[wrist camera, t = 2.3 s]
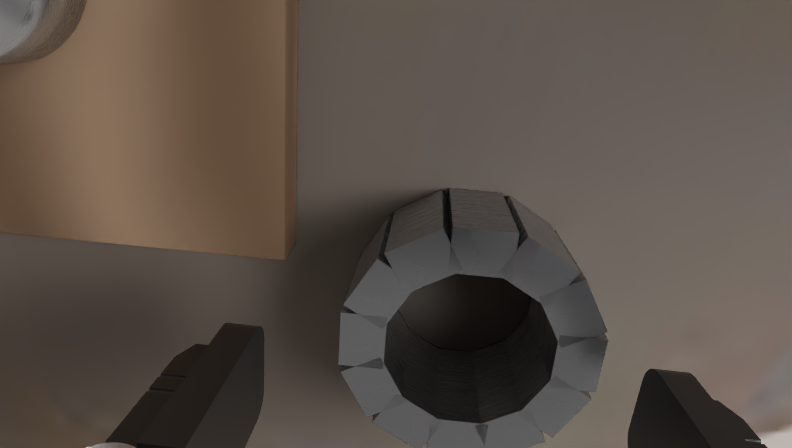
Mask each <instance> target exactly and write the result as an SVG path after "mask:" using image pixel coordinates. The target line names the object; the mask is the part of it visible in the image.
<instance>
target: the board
mask: <svg viewBox="0 0 792 448" xmlns="http://www.w3.org/2000/svg"><path fill="white" fill-rule="evenodd" d="M297 79H298V0H87V2H86V6H85V9H84V12H83V15H82V18H81V20H80V22H79V24H78V26H77V28H76V29H75V31H74V32H73V33H72V35H71V36H70V38H69V39H68V40H67V41H66V42H65V43H64V44H63V45H62V46H61V47H59V48H58V49H56V50H55V51H54V52H52V53H50V54H48V55H46V56H44V57H42V58H40V59H36V60H33V61H29V62H22V63H5V64H0V232H2V233H12V234H22V235H32V236H42V237H53V238H63V239H73V240H83V241H93V242H103V243H113V244H124V245H134V246H144V247H154V248H164V249H174V250H185V251H195V252H205V253H215V254H225V255H235V256H246V257H256V258H266V259H276V260H285V259H286V257H287V256H288V255H289V253H290V252H291V250H292V249H293V248H294V246H295V245H296V177H297Z"/></svg>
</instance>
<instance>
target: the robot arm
mask: <svg viewBox="0 0 792 448" xmlns="http://www.w3.org/2000/svg"><path fill="white" fill-rule="evenodd" d="M263 393H264V332H263V329H262V327H260V326H251V325H242V324H232V323H225V324H224V325H223V326H222V328H221V329H220V330H219V332H218V333H217V334H216V336H215V337H214V338H213V340H212V341H211V343H210V344H209V345H201V344H195V345H194V346H192V347H190V348H189V349H187V350H185V351H184V352H182V353H181V354H179V355H177V356H176V357H174V358H173V360H172V361H171V362H170V363H169V365H168V366H167V367H166V368H165V370H164V371H163V372H162V373H161V377H158V378H157V379H156V381H155V382H154V383H153V384H152V385H151V387H150V389H149V392H148V391H147V392H146V393H145V394H144V395H143V396H142V398H141V399H140V400H139V401H138V403H137V404H136V405H135V406H134V407H133V409H132V410H131V411H130V412H129V414H128V415H127V416H126V417H125V419H124V420H123V421H122V422H121V423H120V425H119V426H118V427H117V428H116V430H115V431H114V432H113V433H112V434H111V436H110V437H109V438H108V439H107V441H106V442H105V443H102V444H96V445H92V446H88V447H86V448H245V446H246V444H247V441H248V439H249V437H250V435H251V433H252V431H253V428H254V426H255V424H256V422H257V419H258V417H259V414H260V410H261V406H262V401H263ZM628 448H767V447H766V446H765V445H764V444H761V440H760V438H759V437H758V436H757V435H756V434H755V433H754V431H753V430H752V429H751V428H750V427H749V425H748V424H747V423H746V422H745V421H744V420H743V419H742V418H741V417H739V416H738V415H737V414H735V413H734V412H733V411H731V410H730V409H728V408H727V407H726V406H724V405H723V404H722V403H720V402H719V401H715V400H713V399H712V398H711V397H710V395H709V394H708V393H707V392H706V390H705V389H704V388H703V387H702V386H701V384H700V383H699V382H698V381H697V379H696V378H695V377H694V376H693V375H692V374H690V373H687V372H678V371H668V370H659V369H649V370H648V371H647V372H646V373H645V375H644V378H643V381H642V384H641V388H640V391H639V395H638V398H637V402H636V405H635V409H634V413H633V416H632V420H631V423H630V427H629V431H628Z"/></svg>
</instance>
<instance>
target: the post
mask: <svg viewBox="0 0 792 448" xmlns="http://www.w3.org/2000/svg"><path fill="white" fill-rule="evenodd" d="M86 2H87V0H0V64H5V63H22V62H29V61H33V60H36V59H40V58H42V57H44V56H46V55H48V54H50V53H52V52H54V51H55V50H56V49H58V48H59V47H61V46H62V45H63V44H64V43H65V42H66V41H67V40H68V39H69V38H70V36H71V35H72V33H73V32H74V31H75V29H76V28H77V26H78V24H79V22H80V20H81V18H82V15H83V12H84V9H85V6H86Z"/></svg>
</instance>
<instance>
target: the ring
mask: <svg viewBox="0 0 792 448" xmlns="http://www.w3.org/2000/svg"><path fill="white" fill-rule="evenodd" d="M454 274H465V275H475V276H485V277H495V278H504V279H505V280H507V281H508V282H510V283H511V284H513V285H514V286H516V287H517V288H519V289H520V290H522V291H523V292H525V293H526V294H528V295H529V296H531V302H530V308H529V314H528V316H527V317H526V318H525V319H524V320H523V321H522V322H521V324H520V325H519V326H518V327H517V328H516V329H515V330H514V331H513V332H512V334H511V335H510V336H509V337H508V338H507V339H506V340H505V341H502V342H499V343H497V344H494V345H491V346H488V347H486V348H483V349H480V350H477V351H475V352H466V351H457V350H447V349H438V348H436V347H435V346H433V345H432V344H430V343H428V342H427V341H425V340H424V339H422V338H421V337H419V336H418V335H416V334H414V333H413V332H411V331H410V330H409V329H408V327H407V325H406V323H405V321H404V319H403V317H402V316H401V314H400V312H399V310H398V309H399V308H400V306H401V305H402V304H403V303H404V301H405V300H406V299H407V298H408V296H409V295H410V294H411V292H412V291H414V290H416V289H419V288H421V287H424V286H426V285H429V284H431V283H434V282H436V281H439V280H441V279H444V278H446V277H449V276H451V275H454ZM605 332H607V329H606V327H605V325H604V322H603V320H602V317H601V315H600V312H599V310H598V307H597V305H596V302H595V300H594V297H593V295H592V292H591V290H590V287H589V285H588V283H587V280H586V278H585V277H584V275H583V273H582V272H581V270H580V269H579V267H578V266H577V264H576V262H575V261H574V259H573V258H572V256H571V254H570V253H569V251H568V250H567V248H566V247H565V245H564V243H563V242H562V240H561V239H560V237H559V235H558V234H557V232H556V231H554V229H553V228H552V226H551V225H550V224H549V223H548V222H546V221H545V220H543V219H542V218H540V217H539V216H538V215H536V214H535V213H533V212H532V211H530V210H529V209H528V208H526V207H525V206H523V205H522V204H520V203H519V202H518V201H516V200H515V199H513V198H512V197H510V196H509V197H508V198H507V199H506V201H505V199H504V196H503V194H502V193H495V192H484V191H473V190H462V189H451V188H450V190H449V199H448V201H447V199H446V197H445V195H444V193H443V191H442V190H440V191H438V192H435V193H433V194H431V195H429V196H426V197H424V198H422V199H420V200H417V201H415V202H413V203H410V204H408V205H406V206H404V207H401V208H399V209H397V210H395V213H394V217H392V216H391V215H389V216H388V218H387V219H386V220H385V222H384V223H383V224H382V226H381V227H380V229H379V230H378V231H377V233H376V234H375V236H374V237H373V238H372V240H371V241H370V243H369V244H368V245H367V247H366V248H365V249H364V251H363V252H362V254H361V257H360V260H359V263H358V265H357V268H356V271H355V274H354V277H353V279H352V282H351V285H350V288H349V290H348V293H347V296H346V299H345V302H344V304H343V307H342V310H341V315H340V338H339V361H338V365H342V368H341V371H340V372H341V374H342V376H343V377H344V379H345V381H346V383H347V384H348V386H349V388H350V389H351V391H352V393H353V395H354V396H355V398H356V400H357V401H358V403H359V405H360V406H361V408H362V410H363V412H364V413H365V415H366V417H368V416H371V415H373V414H374V415H373V421H372V423H374V424H376V425H377V426H379V427H381V428H382V429H384V430H386V431H387V432H389V433H391V434H392V435H394V436H395V437H397V438H399V439H400V440H402V441H404V442H405V443H407V444H409V445H410V446H412V447H414V448H422V447H423V445H424V444H425V443H426V442H427V448H527V447H530V446H533V445H536V444H540V443H543V442H545V440H544V436H543V432H544V433H546V434H547V435H549V436H550V437H553V436H554V435H555V434H556V433H557V432H558V431H559V430H560V429H561V428H562V427H564V426H565V425H566V424H567V423H568V422H569V421H570V420H571V419H572V418H573V417H574V416H575V415H576V414H577V413H578V412H579V411H580V410H581V409H582V408H583V407H584V406H585V405H586V404H587V403H588V402H589V401H590V400H591V397H590V395H589V392H596V388H597V384H598V380H599V376H600V371H601V367H602V363H603V359H604V355H605V350H606V346H607V342H608V339H607V337H606V335H605V334H604V333H605ZM588 391H589V392H588ZM542 431H543V432H542Z"/></svg>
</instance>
